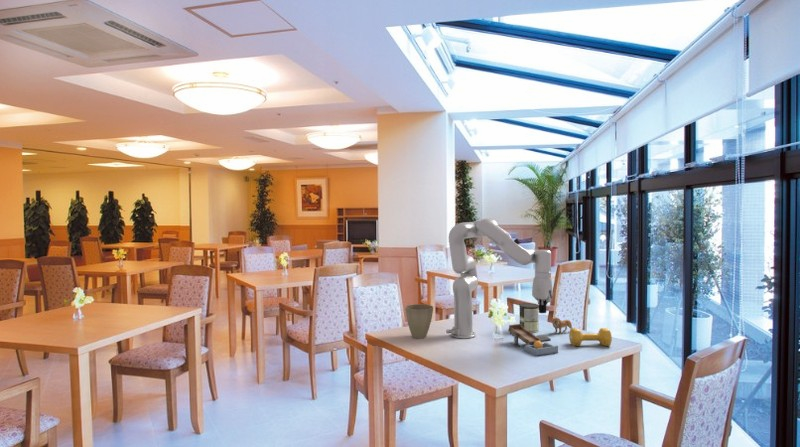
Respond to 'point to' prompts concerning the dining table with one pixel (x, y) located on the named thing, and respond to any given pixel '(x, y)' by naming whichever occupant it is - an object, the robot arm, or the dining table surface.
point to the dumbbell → (590, 337)
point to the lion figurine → (561, 324)
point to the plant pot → (419, 319)
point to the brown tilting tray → (526, 334)
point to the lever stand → (517, 341)
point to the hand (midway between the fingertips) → (542, 312)
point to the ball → (538, 344)
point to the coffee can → (529, 317)
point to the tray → (542, 349)
